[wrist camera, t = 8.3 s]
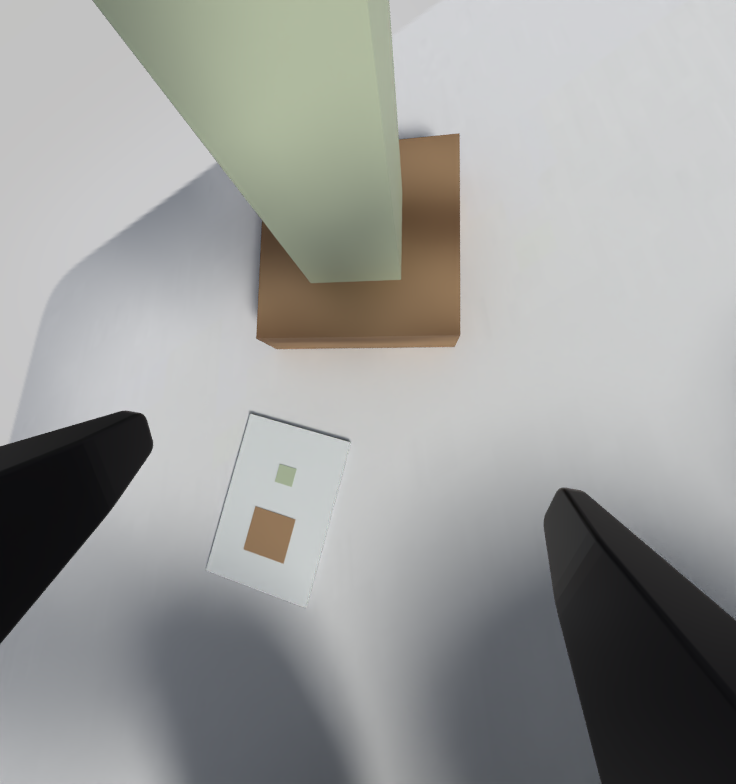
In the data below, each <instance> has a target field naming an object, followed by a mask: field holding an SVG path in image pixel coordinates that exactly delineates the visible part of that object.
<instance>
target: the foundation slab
mask: <svg viewBox="0 0 736 784" xmlns="http://www.w3.org/2000/svg"><path fill="white" fill-rule="evenodd" d="M399 150H400V165H401V179H402V253H401V280H382V281H357V282H331V283H310V282H309V280H308V279H307V278H306V276H305V275H304V274H303V273H302V271H301V270H300V269H299V267H298V266H297V265H296V263H295V262H294V261H293V260H292V258H291V257H290V256H289V254H288V253H287V252H286V251H285V249H284V248H283V247H282V245H281V244H280V243H279V241H278V240H277V239H276V238H275V236H274V235H273V234H272V232H271V231H270V230H269V228H268V227H267V226H266V225H265V223H264V222H263V221H262V232H261V253H260V273H259V294H258V315H257V336H256V339H258V340H260V341H262V342H264V343H266V344H268V345H270V346H272V347H274V348H276V349H316V348H398V347H455V345H456V343H457V341H458V339H459V337H460V148H459V134H450V135H440V136H430V137H420V138H410V139H400V140H399Z"/></svg>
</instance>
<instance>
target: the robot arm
mask: <svg viewBox="0 0 736 784" xmlns="http://www.w3.org/2000/svg"><path fill="white" fill-rule="evenodd" d="M152 448H153V440H152V436H151V433H150V429H149V426H148V422H147V419H146V417H145V416H144V415H143V414H141V413H137V412H132V411H120V412H117V413H113V414H110V415H106V416H103V417H100V418H96V419H93V420H89V421H86V422H82V423H79V424H76V425H72V426H69V427H65V428H62V429H58V430H55V431H52V432H48V433H45V434H41V435H38V436H34V437H31V438H28V439H24V440H21V441H17V442H14V443H10V444H7V445H4V446H0V644H1V642H2V641H3V640H4V639H5V638H6V636H7V635H8V634H9V633H10V632H11V630H12V629H13V628H14V627H15V626H16V624H17V623H18V622H19V621H20V620H21V618H22V617H23V616H24V615H25V614H26V612H27V611H28V610H29V609H30V608H31V606H32V605H33V604H34V603H35V602H36V600H37V599H38V598H39V597H40V596H41V594H42V593H43V592H44V591H45V590H46V588H47V587H48V586H49V585H50V583H51V582H52V581H53V580H54V579H55V577H56V576H57V575H58V574H59V573H60V571H61V570H62V569H63V568H64V567H65V565H66V564H67V563H68V562H69V561H70V559H71V558H72V557H73V556H74V555H75V553H76V552H77V551H78V550H79V549H80V547H81V546H82V545H83V544H84V543H85V541H86V540H87V539H88V538H89V537H90V535H91V534H92V533H93V532H94V531H95V529H96V528H97V527H98V526H99V525H100V523H101V522H102V521H103V520H104V518H105V517H106V516H107V515H108V513H109V512H110V511H111V509H112V508H113V507H114V505H115V504H116V503H117V501H118V500H119V498H120V497H121V495H122V494H123V492H124V491H125V490H126V488H127V487H128V485H129V484H130V482H131V481H132V479H133V478H134V476H135V475H136V474H137V472H138V471H139V469H140V468H141V466H142V465H143V463H144V462H145V461H146V459H147V458H148V456H149V455H150V453H151V451H152ZM544 531H545V538H546V545H547V552H548V559H549V565H550V572H551V579H552V586H553V592H554V598H555V604H556V608H557V612H558V617H559V621H560V624H561V628H562V632H563V636H564V640H565V644H566V648H567V652H568V656H569V659H570V663H571V667H572V671H573V675H574V679H575V683H576V687H577V691H578V694H579V698H580V702H581V706H582V710H583V714H584V718H585V722H586V725H587V729H588V733H589V737H590V741H591V745H592V749H593V753H594V757H595V760H596V764H597V768H598V772H599V776H600V780H601V784H736V620H735V619H734V618H732V617H731V616H730V615H729V614H728V613H726V612H725V611H724V610H723V609H722V608H721V607H719V606H718V605H717V604H716V603H715V602H714V601H712V600H711V599H710V598H709V597H708V596H706V595H705V594H704V593H703V592H702V591H701V590H699V589H698V588H697V587H696V586H695V585H693V584H692V583H691V582H690V581H689V580H688V579H686V578H685V577H684V576H683V575H682V574H681V573H679V572H678V571H677V570H676V569H675V568H673V567H672V566H671V565H670V564H669V563H668V562H666V561H665V560H664V559H663V558H662V557H661V556H659V555H658V554H657V553H656V552H655V551H653V550H652V549H651V548H650V547H649V546H648V545H646V544H645V543H644V542H643V541H642V540H640V539H639V538H638V537H637V536H636V535H635V534H633V533H632V532H631V531H630V530H629V529H628V528H626V527H625V526H624V525H623V524H622V523H620V522H619V521H618V520H617V519H616V518H615V517H613V516H612V515H611V514H610V513H609V512H607V511H606V510H605V509H604V508H603V507H602V506H600V505H599V504H598V503H597V502H596V501H595V500H593V499H592V498H591V497H590V496H589V495H587V494H586V493H585V492H583V491H581V490H576V489H570V488H560V489H559V490H558V491H557V492H556V494H555V496H554V498H553V500H552V502H551V504H550V506H549V508H548V510H547V512H546V514H545V518H544Z"/></svg>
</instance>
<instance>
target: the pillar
mask: <svg viewBox="0 0 736 784" xmlns="http://www.w3.org/2000/svg"><path fill="white" fill-rule="evenodd" d="M93 2H94V3H95V4H96V6H97V7H98V8H99V9H100V11H101V12H102V13H103V15H104V16H105V17H106V19H107V20H108V21H109V22H110V24H111V25H112V26H113V28H114V29H115V30H116V31H117V33H118V34H119V35H120V36H121V38H122V39H123V40H124V42H125V43H126V44H127V46H128V47H129V48H130V50H131V51H132V52H133V54H134V55H135V56H136V57H137V59H138V60H139V61H140V63H141V64H142V65H143V66H144V68H145V69H146V70H147V72H148V73H149V74H150V75H151V77H152V78H153V79H154V81H155V82H156V83H157V85H158V86H159V87H160V88H161V90H162V91H163V92H164V94H165V95H166V96H167V98H168V99H169V100H170V101H171V103H172V104H173V105H174V107H175V108H176V109H177V111H178V112H179V113H180V114H181V116H182V117H183V118H184V120H185V121H186V122H187V124H188V125H189V126H190V127H191V129H192V130H193V131H194V133H195V134H196V135H197V136H198V138H199V139H200V140H201V142H202V143H203V144H204V146H205V147H206V148H207V149H208V150H209V152H210V153H211V155H212V156H213V157H214V158H215V160H216V161H217V162H218V164H219V165H220V166H221V168H222V169H223V170H224V171H225V173H226V174H227V175H228V177H229V178H230V179H231V181H232V182H233V183H234V184H235V186H236V187H237V188H238V190H239V191H240V192H241V193H242V195H243V196H244V197H245V199H246V200H247V201H248V203H249V204H250V205H251V206H252V208H253V209H254V210H255V212H256V213H257V214H258V216H259V217H260V218H261V219H262V221H263V222H264V223H265V225H266V226H267V227H268V228H269V230H270V231H271V232H272V234H273V235H274V236H275V238H276V239H277V240H278V241H279V243H280V244H281V245H282V247H283V248H284V249H285V251H286V252H287V253H288V254H289V256H290V257H291V258H292V260H293V261H294V262H295V263H296V265H297V266H298V267H299V269H300V270H301V271H302V273H303V274H304V275H305V276H306V278H307V279H308V280H309V282H310V283H331V282H357V281H382V280H401V253H402V179H401V165H400V150H399V136H398V122H397V107H396V93H395V79H394V64H393V50H392V35H391V21H390V7H389V0H93Z"/></svg>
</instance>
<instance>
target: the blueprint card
mask: <svg viewBox="0 0 736 784" xmlns="http://www.w3.org/2000/svg"><path fill="white" fill-rule="evenodd" d="M350 444H351V442H348V441H345V440H341V439H338V438H334V437H331V436H327V435H324V434H320V433H317V432H313V431H310V430H306V429H303V428H299V427H296V426H292V425H289V424H285V423H282V422H278V421H275V420H271V419H268V418H264V417H261V416H257V415H254V414H250V416H249V420H248V423H247V427H246V430H245V434H244V437H243V441H242V444H241V448H240V452H239V455H238V459H237V462H236V466H235V469H234V473H233V476H232V480H231V483H230V487H229V490H228V494H227V497H226V501H225V504H224V508H223V511H222V515H221V518H220V522H219V525H218V529H217V533H216V536H215V540H214V543H213V547H212V550H211V554H210V557H209V561H208V564H207V568H206V571H208V572H210V573H213V574H216V575H218V576H221V577H224V578H226V579H229V580H232V581H234V582H237V583H240V584H242V585H245V586H248V587H250V588H253V589H256V590H258V591H261V592H263V593H266V594H269V595H271V596H274V597H277V598H279V599H282V600H285V601H287V602H290V603H293V604H295V605H298V606H301V607H303V608H306V607H307V604H308V600H309V596H310V593H311V589H312V585H313V582H314V578H315V574H316V570H317V567H318V563H319V559H320V555H321V552H322V548H323V544H324V541H325V537H326V533H327V529H328V526H329V522H330V518H331V514H332V511H333V507H334V503H335V500H336V496H337V492H338V488H339V485H340V481H341V477H342V473H343V470H344V466H345V462H346V458H347V455H348V451H349V447H350Z"/></svg>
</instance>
